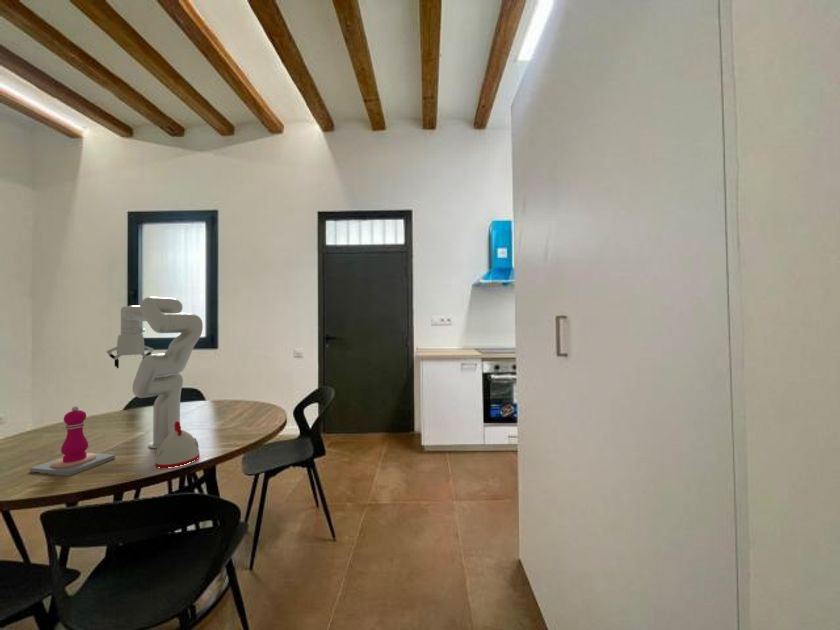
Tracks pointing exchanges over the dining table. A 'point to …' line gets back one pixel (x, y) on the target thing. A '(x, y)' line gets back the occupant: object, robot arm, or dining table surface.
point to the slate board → (72, 464)
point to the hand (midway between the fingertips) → (130, 366)
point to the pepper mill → (74, 436)
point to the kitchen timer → (177, 449)
